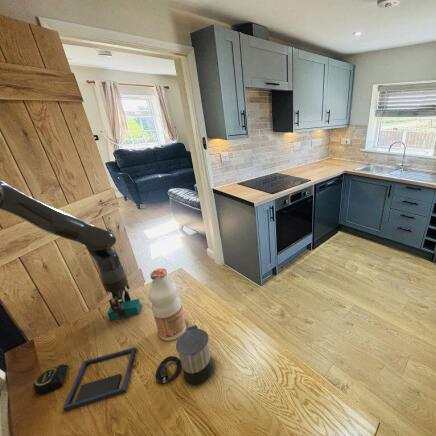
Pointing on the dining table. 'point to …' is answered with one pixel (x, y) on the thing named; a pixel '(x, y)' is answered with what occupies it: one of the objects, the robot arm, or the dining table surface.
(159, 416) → the dining table surface
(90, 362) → the dark blue open frame
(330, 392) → the dining table surface
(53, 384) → the tape measure
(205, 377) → the milk frother
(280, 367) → the dining table surface
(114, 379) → the black pad
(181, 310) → the fruit juice
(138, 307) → the teal pad
